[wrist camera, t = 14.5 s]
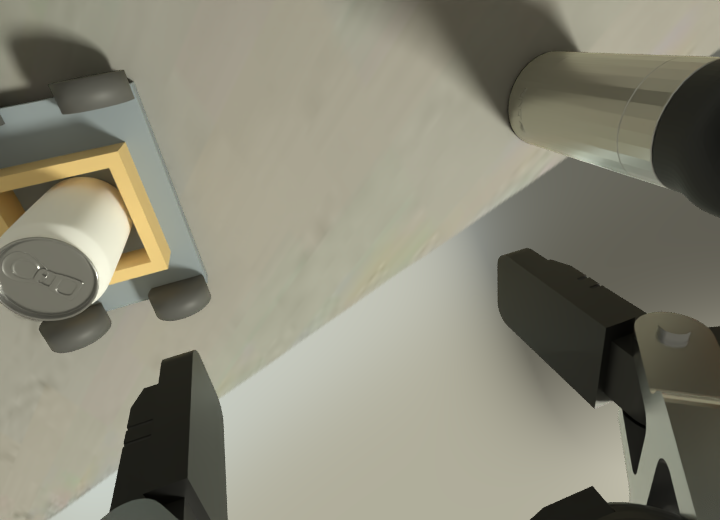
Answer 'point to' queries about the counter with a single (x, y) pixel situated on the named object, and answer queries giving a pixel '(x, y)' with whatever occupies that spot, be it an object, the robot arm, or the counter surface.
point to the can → (63, 250)
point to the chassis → (123, 171)
